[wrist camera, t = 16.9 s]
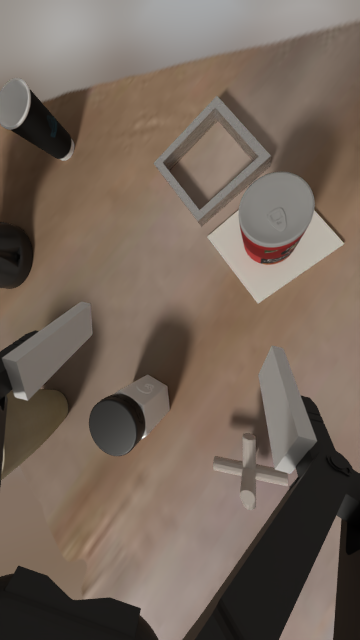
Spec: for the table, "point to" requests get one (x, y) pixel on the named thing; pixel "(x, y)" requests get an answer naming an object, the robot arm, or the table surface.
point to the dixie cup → (33, 120)
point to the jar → (128, 415)
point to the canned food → (275, 216)
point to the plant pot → (30, 425)
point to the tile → (275, 276)
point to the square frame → (192, 135)
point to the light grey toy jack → (249, 471)
